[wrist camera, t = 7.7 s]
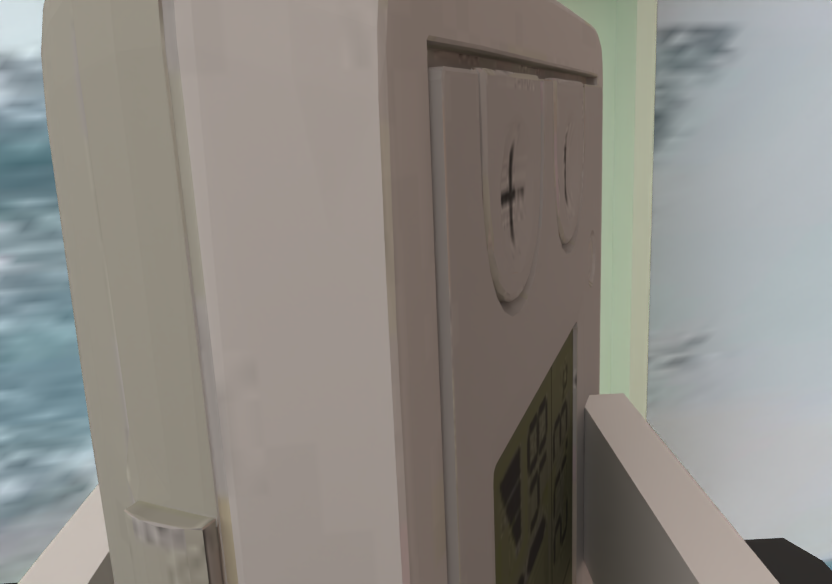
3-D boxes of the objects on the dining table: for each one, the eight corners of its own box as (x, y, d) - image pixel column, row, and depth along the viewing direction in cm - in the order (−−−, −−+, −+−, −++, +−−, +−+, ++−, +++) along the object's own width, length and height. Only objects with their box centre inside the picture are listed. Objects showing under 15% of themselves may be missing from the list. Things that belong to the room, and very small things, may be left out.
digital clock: (565, 757, 18) (778, 1675, 7) (181, 708, 17) (-166, 1593, 7) (740, 41, 14) (1680, -162, 4) (255, -40, 14) (-255, -526, 3)
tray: (197, 552, 29) (177, 596, 27) (127, -9, 25) (95, -24, 22) (619, 527, 30) (642, 569, 27) (629, -30, 25) (658, -48, 22)
